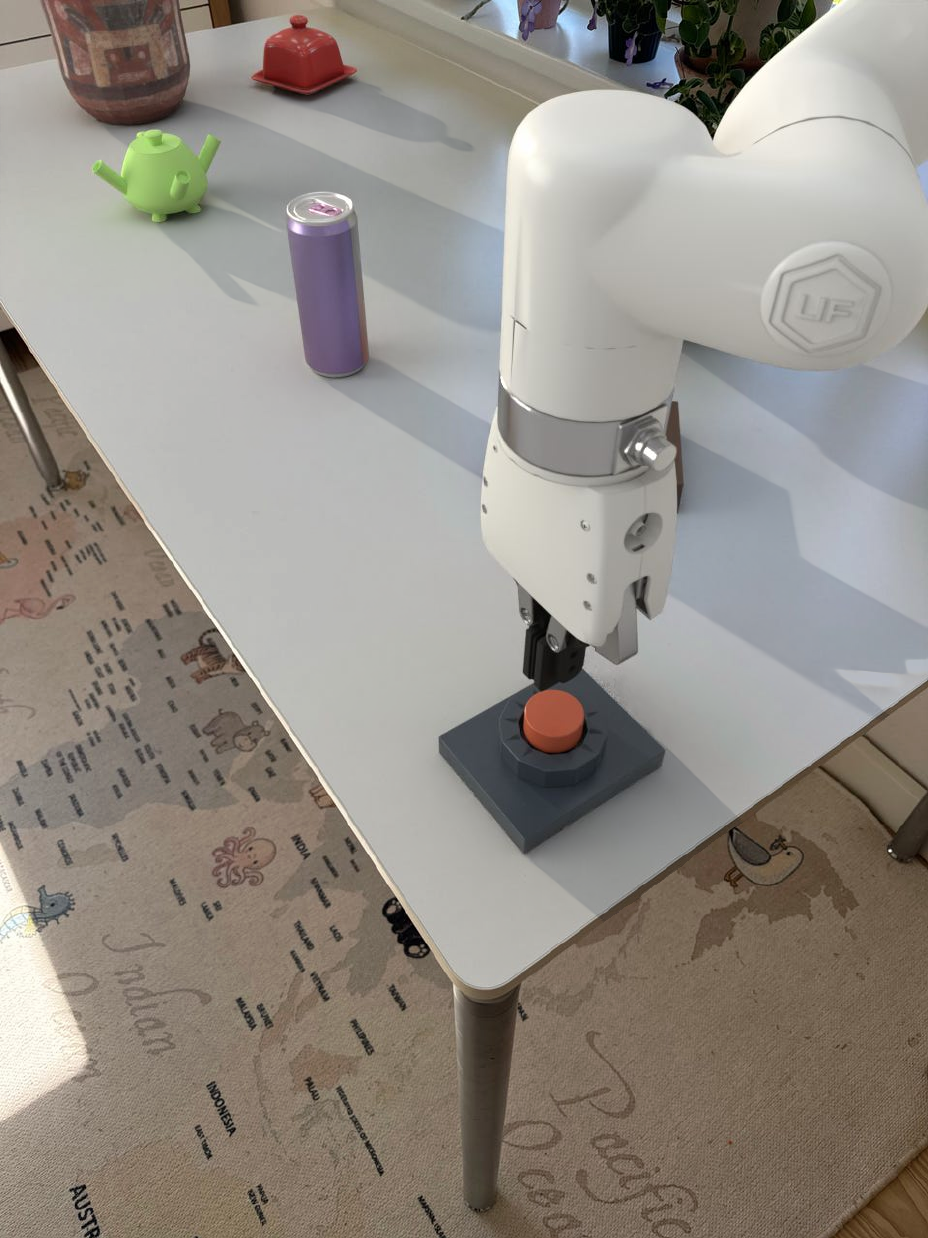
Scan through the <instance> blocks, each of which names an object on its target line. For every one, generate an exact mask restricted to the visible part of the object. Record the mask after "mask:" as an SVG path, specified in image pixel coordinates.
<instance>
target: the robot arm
mask: <svg viewBox="0 0 928 1238" xmlns="http://www.w3.org/2000/svg"><path fill="white" fill-rule="evenodd" d="M713 136H714V137H713V139H712V136H711V134H710V133H709V130H708V128H707V126H706V125H705V123H704V122H703V121H702V120H701V119H700V118H699V117H698V116H697V115H696V114H695V113H694V112H692V111H691V110H689V109H688V108H686V107H685V106H683V105H681V104H679V103H677V102H674V101H672V100H669V99H666V98H663V97H660V96H656V95H653V94H649V93H645V92H639V91H634V90H624V89H623V90H622V89H593V90H582V91H581V90H580V91H576V92H570V93H565V94H562V95H558V96H555V97H553V98H550V99H548V100H546V101H544V102H542V103H541V104H539V105H538V106H536V107H535V108H533V109H532V110H531V111H529V112H528V113H527V114H526V116H525V117H524V118H523V119H522V120H521V122H520V124H519V125H518V126H517V128H516V130H515V132H514V134H513V137H512V140H511V143H510V147H509V150H508V159H507V169H506V170H507V171H506V185H505V187H506V189H505V210H504V211H505V212H504V215H505V216H504V239H503V260H502V261H503V262H502V263H503V264H502V265H503V266H502V286H501V287H502V288H501V291H502V292H501V294H502V295H501V319H500V321H501V322H500V327H501V328H500V341H499V342H500V344H499V365H498V368H499V369H498V390H497V404H496V407H495V409H494V410H495V411H494V414H493V418H492V421H491V426H490V430H489V435H488V439H487V440H488V441H487V445H486V450H485V457H484V463H483V464H484V465H483V472H482V483H481V493H480V494H481V497H480V529H481V537H482V541H483V544H484V546H485V548H486V549H487V551H488V552H489V554H490V555H491V556H492V557H493V559H494V560H495V561H496V562H497V563H498V565H500V566H501V567H502V568H503V570H505V572H507V573H508V575H510V576H511V578H512V579H513V580H514V582H515V584H516V586H517V597H518V599H517V601H518V613H519V615H520V618H521V620H522V621H523V623H525V625H527V626H528V628H525V636H524V637H525V638H524V647H523V649H524V650H523V664H522V674H523V675H524V676H525V677H526V678H527V679H528V680H532V681H533V683H534V685H535V686H536V687H537V688H538V689H539V690H540V691H541V692H542V691H545V690H547V689H548V688H550V687H552V686H554V685H555V684H557V683H559V682H561V683H566V682H568V681H570V680H571V679H573V678H575V677H576V676H577V675H578V674H579V673H580V671H581V669H582V668H583V667H584V664H585V659H586V658H585V657H586V650H587V648H589V647H590V646H591V647H593V648H594V652H596V653H597V654H598V655H600V656H602V657H603V658H604V659H606V660H607V661H609V662H610V663H612V664H613V665H615V666H619V665H622V663H624V662H626V661H628V660H629V659H632V658H633V657H635V656H637V655H638V653H639V641H638V640H639V639H638V636H639V635H638V616H637V615H638V614H637V613H638V612H637V610H638V611H639V612H640V613H641V614H642V615H643V616H644V617H645V618H647V619H648V620H649V621H652V620H653V619H654V618H656V617H658V616H659V615H661V614H662V612H663V611H664V608H665V605H666V601H667V597H668V593H669V587H670V581H671V576H672V570H673V569H672V568H673V563H674V562H673V561H674V552H675V544H676V534H677V533H676V532H677V522H678V521H677V519H678V518H677V516H678V513H677V481H676V470H675V460H674V459H675V457H676V453H677V448H676V447H675V446H674V445H673V444H672V443H670V442H669V441H668V440H667V436H666V435H665V434H666V429H667V424H668V419H669V414H670V408H671V403H672V401H673V398H674V393H675V388H676V387H675V386H676V380H677V377H678V376H677V375H678V371H679V367H680V366H679V365H680V359H681V355H682V350H683V344H684V341H687V342H690V343H692V344H693V343H694V344H697V345H699V346H703V347H707V348H710V349H712V350H717V351H719V352H723V353H726V354H730V355H732V356H736V357H739V358H742V359H745V360H749V361H752V362H756V363H760V364H762V365H767V366H771V367H776V368H780V369H787V370H791V371H799V372H800V371H803V372H833V371H839V370H846V369H850V368H853V367H857V366H861V365H864V364H866V363H869V362H870V361H873V360H876V359H877V358H879V357H880V356H881V357H882V355H884V354H886V353H887V352H889V351H891V350H893V349H894V348H895V347H897V346H898V344H900V343H901V342H902V341H904V339H906V337H907V336H908V335H909V334H910V333H911V332H912V331H913V330H914V329H915V328H916V326H917V325H918V323H919V322H920V320H921V319H922V318H923V316H924V314H925V312H926V311H927V308H928V201H927V197H926V195H925V191H924V189H923V186H922V183H921V180H920V179H921V178H920V175H919V172H918V169H917V168H918V167H920V166H921V165H923V164H924V163H925V162H927V161H928V0H841V1H839V2H838V3H837V4H836V5H835V6H833V7H832V8H831V9H830V10H828V11H827V12H826V13H824V14H823V15H822V16H821V17H820V18H818V19H817V20H816V21H815V22H814V23H812V24H810V25H809V26H808V27H807V28H806V29H805V30H803V31H802V32H801V33H800V34H799V35H798V36H797V37H795V38H794V39H792V40H791V41H790V42H789V43H788V44H786V46H783V48H782V49H781V50H780V51H779V52H777V53H776V54H775V55H773V57H772V58H770V59H769V60H768V61H767V62H766V63H765V64H764V65H763V66H762V67H761V68H760V69H758V71H757V72H756V73H755V74H754V75H753V76H752V77H751V78H750V79H749V80H748V81H747V82H746V83H745V84H744V86H743V88H742V89H741V90H740V91H739V93H738V94H737V95H736V97H735V98H734V99H733V100H732V102H731V103H730V104H729V106H728V108H727V109H726V111H725V112H724V115H723V117H722V119H721V120H720V122H719V125H718V126H717V128H716V131H715V133H714V135H713Z"/></svg>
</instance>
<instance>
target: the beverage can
mask: <svg viewBox="0 0 928 1238" xmlns="http://www.w3.org/2000/svg"><path fill="white" fill-rule="evenodd" d="M286 214H287V215H286V219H285V225H286V232H287V239H288V248H289V253H290V260H291V267H292V274H293V275H292V276H293V282H294V289H295V297H296V303H297V310H298V318H299V323H300V331H301V332H300V333H301V338H302V345H303V353H304V360H305V363H306V364H307V365H308V367H309V369H311V370H312V371H313V372H314V373H316V374H318V375H320V376H322V377H326V378H332V379H333V378H337V379H338V378H345V377H348V376H352V375H354V374H356V373H358V372H359V371H360V370H362V369H363V368H364V366H365V365H366V363H367V362H368V359H369V357H370V349H369V339H368V337H369V336H368V326H367V325H368V324H367V315H366V314H367V313H366V304H365V303H366V302H365V292H364V280H363V270H362V269H363V268H362V256H361V246H360V245H361V244H360V233H359V223H358V222H359V221H358V215H357V212H356V211H355V204H354V202H353V200H352V199H351V198H350V197H349V196H347V195H344V194H342V193H339V192H335V191H314V192H308V193H304V194H301V195H299V196H297V197H295V198H293V199H291V200H290V201H289V203H288V204H287V205H286Z"/></svg>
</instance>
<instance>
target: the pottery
mask: <svg viewBox="0 0 928 1238" xmlns="http://www.w3.org/2000/svg"><path fill="white" fill-rule="evenodd" d="M39 3H40V5H41V8H42V11H43V15H44V17H45V19H46V23H47V26H48V29H49V32H50V36H51V40H52V43H53V48H54V53H55V56H56V60H57V64H58V67H59V71H60V74H61V77H62V78H61V79H62V80H63V82H64V84H65V86H66V88H67V90H68V92H69V94H70V96H71V97H72V98H73V99H74V101H75V102H76V104H77V105H78V106H79V107H80V108H81V109H82V110H83V111H85V112H86V113H88V114H89V115H90V116H91V117H93V118H94V119H95V120H97V121H99V122H101V123H103V124H104V123H105V124H109V125H116V126H135V125H142V124H148V123H152V122H156V121H159V120H163V119H164V118H166V117H168V116H170V115H171V114H173V113H174V112H175V110H176V109H177V108H178V107H179V105H180V104H181V102H182V101H183V99H184V97H185V95H186V92H187V88H188V84H189V81H190V76H191V60H190V59H191V58H190V52H189V47H188V43H187V39H186V33H185V28H184V24H183V18H182V12H181V5H180V0H39Z"/></svg>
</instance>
